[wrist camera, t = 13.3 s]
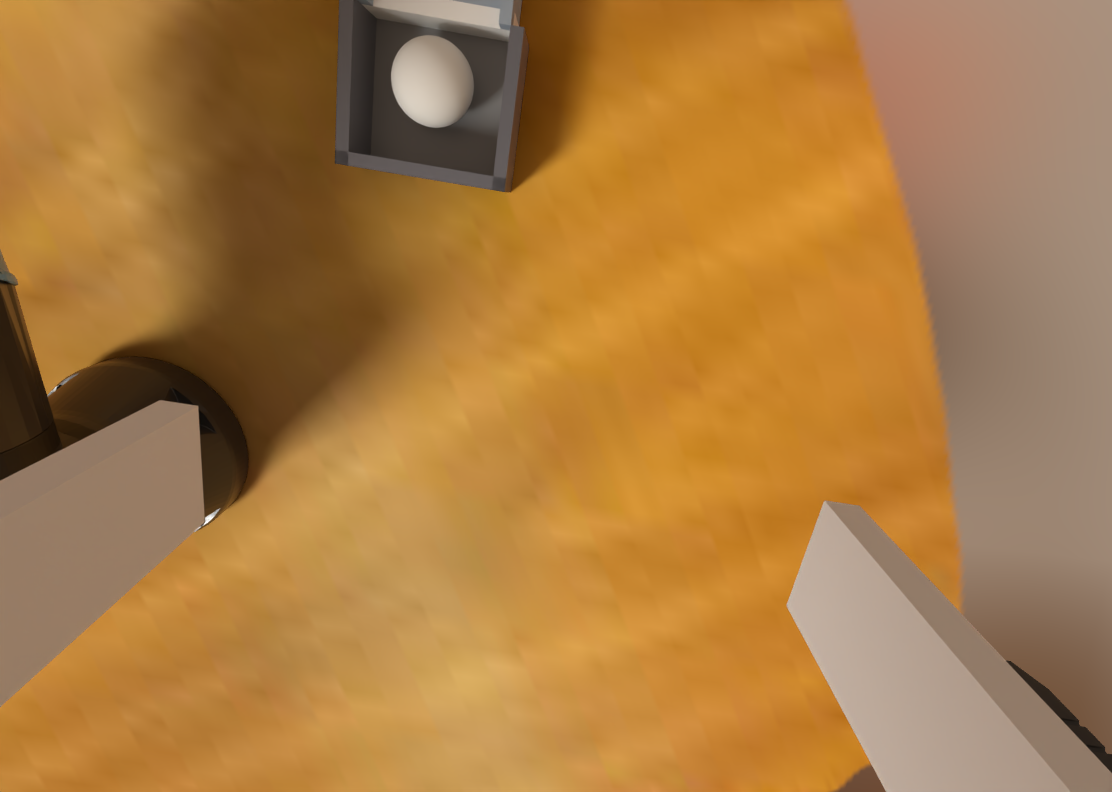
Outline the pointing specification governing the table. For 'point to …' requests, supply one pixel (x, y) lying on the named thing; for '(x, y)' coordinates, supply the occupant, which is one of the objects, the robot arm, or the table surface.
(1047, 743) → the robot arm
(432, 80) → the pale rubber ball
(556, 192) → the table surface
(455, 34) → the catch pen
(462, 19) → the launch ramp
